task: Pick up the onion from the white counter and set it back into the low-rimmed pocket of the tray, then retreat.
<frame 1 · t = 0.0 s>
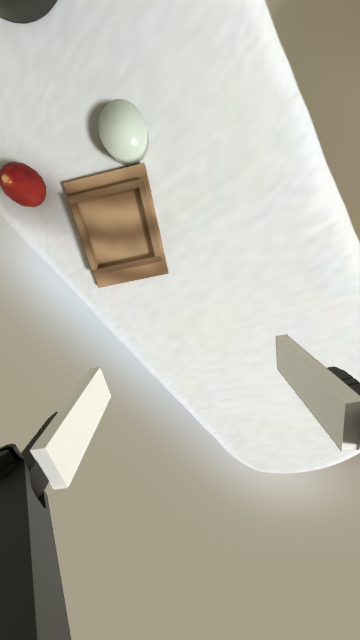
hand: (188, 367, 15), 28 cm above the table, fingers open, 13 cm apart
tray: (120, 231, 38), on the table
pale green dome: (126, 139, 33), on the table
onion: (40, 191, 36), on the table
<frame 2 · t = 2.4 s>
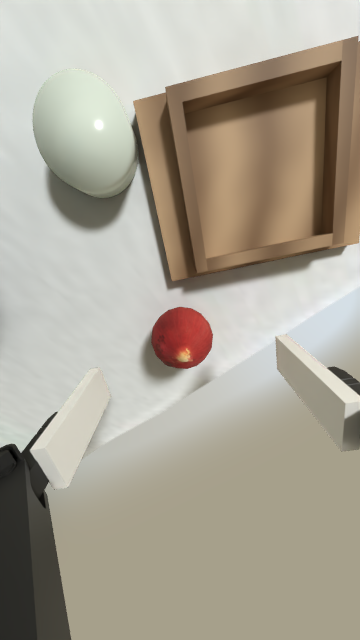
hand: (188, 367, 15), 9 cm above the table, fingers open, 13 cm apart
tray: (252, 183, 19), on the table
pale green dome: (97, 151, 18), on the table
onion: (181, 323, 24), on the table
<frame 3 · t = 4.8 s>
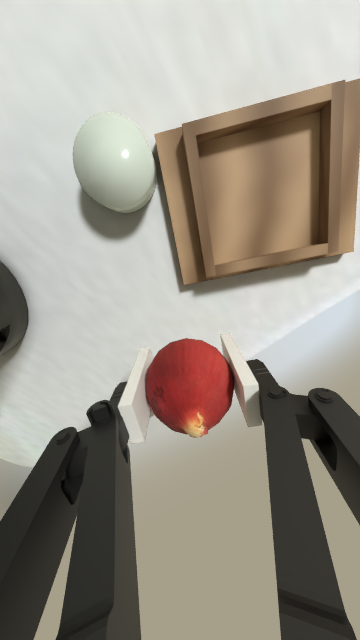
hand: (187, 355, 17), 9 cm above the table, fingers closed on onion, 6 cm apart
tray: (256, 199, 21), on the table
pale green dome: (122, 174, 21), on the table
onion: (187, 354, 18), point 9 cm above the table, touching gripper
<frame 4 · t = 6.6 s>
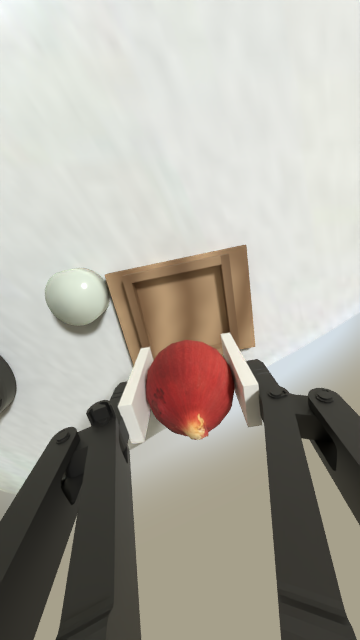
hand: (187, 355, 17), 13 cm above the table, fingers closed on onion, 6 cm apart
tray: (184, 310, 29), on the table
pale green dome: (84, 294, 28), on the table
onion: (187, 355, 18), point 12 cm above the table, touching gripper
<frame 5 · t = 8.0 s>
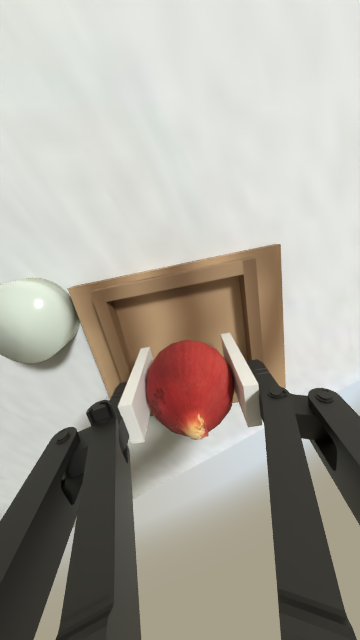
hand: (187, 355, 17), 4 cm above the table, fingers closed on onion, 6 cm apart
tray: (185, 337, 20), on the table
pale green dome: (42, 314, 20), on the table
onion: (187, 355, 18), point 3 cm above the table, touching gripper
when the fingers open (3 cm above the table, at t = 8.9 s): onion drops 1 cm, resting on tray.
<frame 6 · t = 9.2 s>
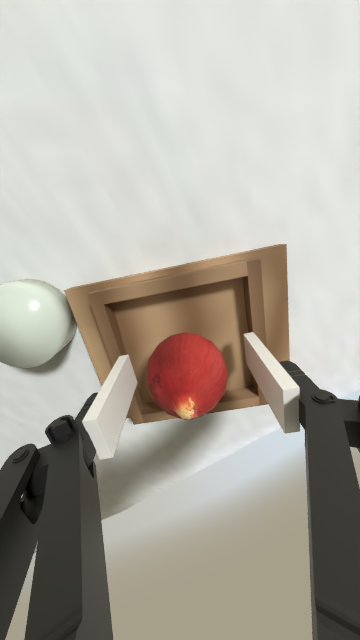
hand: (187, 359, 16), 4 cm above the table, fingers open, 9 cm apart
tray: (186, 340, 20), on the table
pale green dome: (38, 317, 19), on the table
onion: (188, 348, 19), point 1 cm above the table, touching tray
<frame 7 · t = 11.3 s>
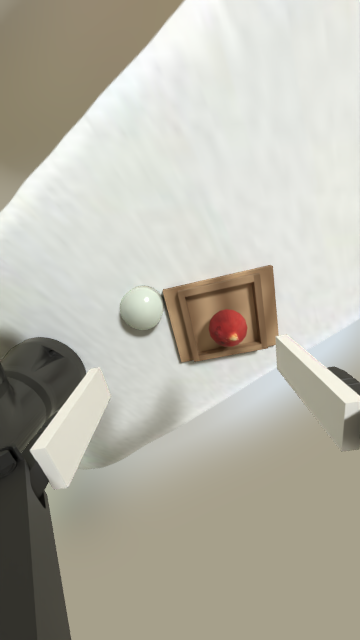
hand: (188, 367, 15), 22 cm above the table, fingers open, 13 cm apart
tray: (221, 316, 37), on the table
pale green dome: (144, 305, 37), on the table
onion: (223, 319, 36), point 1 cm above the table, touching tray
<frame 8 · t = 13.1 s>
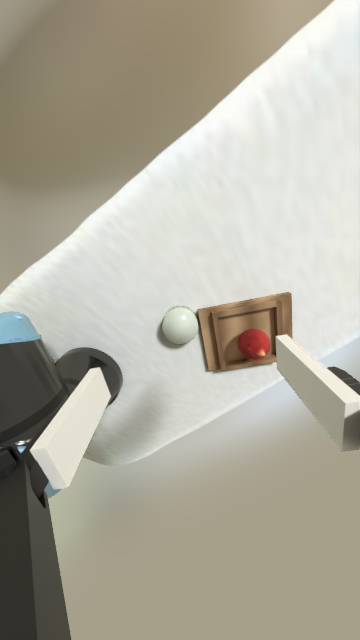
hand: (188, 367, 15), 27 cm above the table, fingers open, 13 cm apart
tray: (245, 332, 43), on the table
pale green dome: (180, 322, 43), on the table
onion: (247, 335, 42), point 1 cm above the table, touching tray
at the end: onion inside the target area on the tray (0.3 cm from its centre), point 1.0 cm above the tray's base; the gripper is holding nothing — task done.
